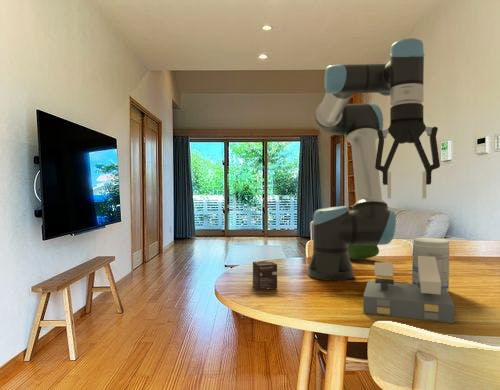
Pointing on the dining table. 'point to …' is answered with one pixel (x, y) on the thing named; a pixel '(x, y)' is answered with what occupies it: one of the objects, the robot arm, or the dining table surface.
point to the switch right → (429, 275)
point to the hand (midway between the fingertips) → (406, 198)
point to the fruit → (362, 251)
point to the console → (407, 301)
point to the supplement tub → (432, 249)
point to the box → (264, 274)
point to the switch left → (384, 269)
